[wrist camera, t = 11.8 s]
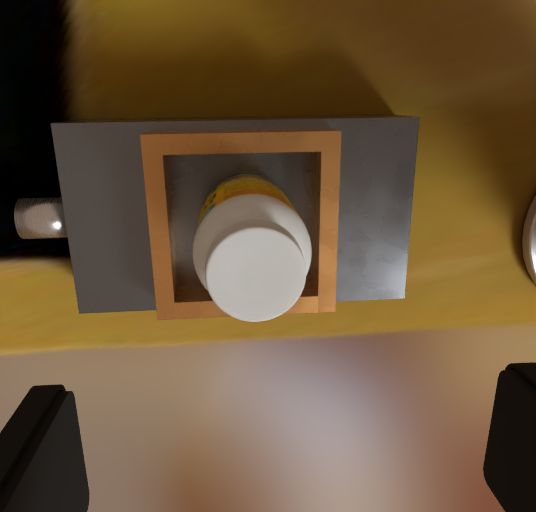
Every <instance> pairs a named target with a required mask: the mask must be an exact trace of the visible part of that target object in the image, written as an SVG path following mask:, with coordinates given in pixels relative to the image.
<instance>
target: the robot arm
mask: <svg viewBox="0 0 536 512" xmlns="http://www.w3.org/2000/svg"><path fill="white" fill-rule="evenodd" d="M522 247H523V258H524V261H525V264H526V268H527V271H528V273H529V275H530V276H531V278H532V280H533V282H534V283H535V284H536V195H535V197H534V199H533V201H532V203H531V205H530V207H529V210H528V213H527V217H526V220H525V223H524V229H523V238H522ZM483 471H484V477H485V480H486V483H487V485H488V486H489V488H490V489H491V491H492V492H493V494H494V495H495V497H496V498H497V500H498V501H499V503H500V504H501V506H502V507H503V509H504V510H505V512H536V363H513V364H512V363H511V364H509V365H508V366H507V367H506V368H505V370H503V371H501V372H500V374H499V377H498V382H497V388H496V394H495V400H494V406H493V412H492V418H491V424H490V430H489V436H488V442H487V448H486V454H485V461H484V467H483ZM86 475H87V474H86V468H85V462H84V455H83V448H82V443H81V436H80V429H79V423H78V416H77V410H76V404H75V397H74V394H73V392H72V391H66V390H65V388H64V386H63V385H41V386H33V387H32V388H31V389H30V390H29V392H28V393H27V395H26V396H25V398H24V399H23V400H22V402H21V404H20V405H19V406H18V408H17V409H16V411H15V412H14V414H13V415H12V417H11V418H10V419H9V421H8V422H7V424H6V425H5V427H4V428H3V430H2V431H1V433H0V512H87V510H88V505H89V487H88V481H87V476H86Z"/></svg>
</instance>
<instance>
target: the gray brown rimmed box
mask: <svg viewBox="0 0 536 512" xmlns="http://www.w3.org/2000/svg"><path fill="white" fill-rule="evenodd" d="M418 128H419V117H413V116H403V115H354V116H293V117H232V118H172V119H111V120H71V121H64V122H57V123H51V129H52V135H53V142H54V149H55V155H56V162H57V169H58V175H59V182H60V189H61V195H62V197H53V198H21V199H19V200H18V201H17V203H16V206H15V211H14V219H15V226H16V229H17V232H18V234H19V235H20V237H21V238H23V239H36V238H65V237H68V242H69V249H70V255H71V262H72V269H73V275H74V282H75V289H76V295H77V302H78V309H79V314H81V313H102V312H123V311H145V310H157V320H172V319H193V318H213V317H232V316H230V315H228V314H227V313H225V312H224V311H223V310H221V309H220V308H219V307H218V306H217V305H216V303H215V302H214V301H213V299H212V298H211V296H210V294H209V292H208V291H207V290H206V288H205V287H204V286H203V284H202V283H201V281H200V279H199V277H198V275H197V273H196V270H195V267H194V262H193V242H194V238H195V233H196V229H197V226H198V221H199V218H200V213H201V209H202V206H203V203H204V201H205V199H206V197H207V196H208V194H209V193H210V192H211V191H212V190H213V189H214V188H215V187H216V186H217V185H218V184H220V183H221V182H223V181H224V180H226V179H228V178H230V177H233V176H236V175H243V174H249V175H257V176H261V177H264V178H266V179H268V180H270V181H271V182H273V183H274V184H276V185H277V186H278V187H279V188H280V189H281V190H282V191H283V192H284V194H285V195H286V196H287V198H288V199H289V201H290V203H291V204H292V206H293V207H294V209H295V210H296V212H297V213H298V215H299V216H300V218H301V219H302V221H303V223H304V225H305V227H306V229H307V231H308V234H309V237H310V241H311V250H312V255H311V263H310V267H309V270H308V273H307V275H306V282H305V286H304V289H303V291H302V293H301V295H300V297H299V298H298V300H297V301H296V303H295V304H294V305H293V306H292V307H291V308H290V309H289V310H287V311H286V312H285V313H283V314H296V313H316V312H335V303H336V302H337V301H358V300H379V299H401V298H404V296H405V284H406V272H407V260H408V248H409V236H410V224H411V212H412V200H413V188H414V176H415V164H416V152H417V140H418Z"/></svg>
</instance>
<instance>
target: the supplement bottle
mask: <svg viewBox="0 0 536 512" xmlns="http://www.w3.org/2000/svg"><path fill="white" fill-rule="evenodd" d="M311 255H312V250H311V241H310V237H309V234H308V231H307V229H306V227H305V225H304V223H303V221H302V219H301V218H300V216H299V215H298V213H297V212H296V210H295V209H294V207H293V206H292V204H291V203H290V201H289V199H288V198H287V196H286V195H285V194H284V192H283V191H282V190H281V189H280V188H279V187H278V186H277V185H276V184H274V183H273V182H271V181H270V180H268V179H266V178H264V177H261V176H257V175H249V174H243V175H236V176H233V177H230V178H228V179H226V180H224V181H223V182H221V183H220V184H218V185H217V186H216V187H215V188H214V189H213V190H212V191H211V192H210V193H209V194H208V196H207V197H206V199H205V201H204V203H203V206H202V209H201V213H200V218H199V221H198V226H197V229H196V233H195V238H194V242H193V262H194V267H195V270H196V273H197V275H198V277H199V279H200V281H201V283H202V284H203V286H204V287H205V288H206V290H207V291H208V292H209V294H210V296H211V298H212V299H213V301H214V302H215V303H216V305H217V306H218V307H219V308H220V309H221V310H223V311H224V312H225V313H227V314H228V315H230V316H232V317H234V318H237V319H240V320H244V321H252V322H258V321H265V320H270V319H273V318H275V317H277V316H280V315H281V314H283V313H285V312H286V311H287V310H289V309H290V308H291V307H292V306H293V305H294V304H295V303H296V301H297V300H298V298H299V297H300V295H301V293H302V291H303V289H304V286H305V282H306V275H307V273H308V270H309V267H310V263H311Z"/></svg>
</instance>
